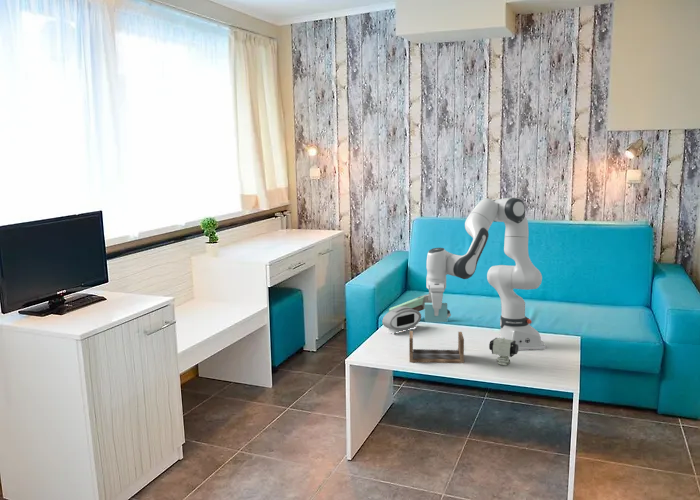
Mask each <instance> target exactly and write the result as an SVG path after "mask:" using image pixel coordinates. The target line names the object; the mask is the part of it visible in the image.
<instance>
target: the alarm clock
mask: <svg viewBox="0 0 700 500" xmlns="http://www.w3.org/2000/svg"><path fill="white" fill-rule="evenodd" d="M421 320H422V314H421V311H417V310H414V309H412V308H409V307H398V308H396V309H394V310H391V311H390V312H389V311H388V312H387V313H385V315H384V316H383V318H382V325H383V326H384V327H385V328H386V329H387V332H388V331H389V332H392V333H396V332H399V331H403V330H408V329H410V328H414V327H416V328H417V325H418V324H419V323H420V322H421Z"/></svg>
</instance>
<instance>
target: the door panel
mask: <svg viewBox="0 0 700 500" xmlns="http://www.w3.org/2000/svg"><path fill="white" fill-rule="evenodd" d="M447 309H448V302H442V307H441V309H439V313H438V316H435V315H434V309H433V305H432V303H425V309H424V322H425V323H448V318H447Z"/></svg>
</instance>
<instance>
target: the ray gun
mask: <svg viewBox="0 0 700 500" xmlns="http://www.w3.org/2000/svg"><path fill="white" fill-rule="evenodd" d="M425 303H432V298H431V293H430V292H429V291H428V294H424V295H420V296H417V297H415V298H413V299H409V300H408V301H406V302H405V301H404V302H402V303H399V304H398V305H395V306H392V307H390V308H388V312H390V311H391V310H394V309H396V308H398V307H409V308H412V309H414V310H417V311H419V312H421V311H425ZM451 316H452V314H451V311H450V310H449V309H448V308H447V319H448V318H450V317H451Z"/></svg>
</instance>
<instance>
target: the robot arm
mask: <svg viewBox="0 0 700 500" xmlns="http://www.w3.org/2000/svg"><path fill="white" fill-rule="evenodd" d="M526 211H527V210H526V206H525V203H524V201H523V200H522V199H520V198H517V197H511V198H510V197H505V198H499V199H491V198H488V197H487V198H482V199H481V200H480V201H479V202H477V204H476V205H475V207H474V208H472V209H471V211H470V213H469V215H468V216H467V218H466V219H465V221H464V229H465V231H466V232H467V234H468V235H469V236H471V238H472V241H471V244H470V246H469V248H468V250H467V252H466V253H465V254H463V255H460V254H454V253H452V252H449V251H447V250H446V249H445V248H444V247H433V248H431V249H429V250H428V252H427V254H426V255H427V256H426V278H425V279H426V281H425V282H426V289H428V293H429V292H430V293H431V298H432V305H433V309H434V315H435V316H438V313H439V309H441V307H442V303H443V299H444V298H443V296H444V292H445V291H446V289H447V275H448V276H453V277H457V278H458V279H459V278H460V279H463V280H469V279H470V278H471V277H473V275H475V272H476V269H477V265H478V263H479V260H480V258H481V255H482V254H483V251H484V249H485V247H486V244H487V243H488V240H489V229H490V228H491V226H492V224H493V222H496V223H497V222H498V223H500V222H501V223H504V226H505V230H504V239H503V240H504V242H503V243H504V244H503V245H504V246H503V252H504V254H505V255H506V256H507V257H508V258H510V259H512V260H513V261H514V262H515V265H505V264H499V265H492V266H491V267H489V269H488V270H487V273H486V279H487V282H488V284H489V285H490V286H491V287H492V288H494V289H495V291H496V292H497V294H498V295H499V299H500V305H501V306H500V307H501V314H500V318H499V322H500V323H499V326H500V330H499V337H498V338H501V339H503V338H505V339H508V340H514V341H516V342H515V343H516V344H518V351H525V350H526V351H527V350H528V351H529V349H533V350H544V348H545V347H547V346H546V343H545V342H544V340H542V338H541V335H540V332H539V331H538V330H537V329H536V328H534V327H533V326H531V324H532V320H531V318H529V317H527V316H526V302H525V300H524V299H523V297H521V296H520V295H518V294H517V293H516V292H515V291H514V290H525V291H527V290H536V289H538V288H539V287H540V286H541V284H542V280H543V275H542V273H541V271H540V269H538V268H537V267H536V266H535V265H534V263H533V262H532V260H531V258H530V255H529V235H530V234H529V221H528V217H526ZM545 349H546V348H545Z"/></svg>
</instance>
